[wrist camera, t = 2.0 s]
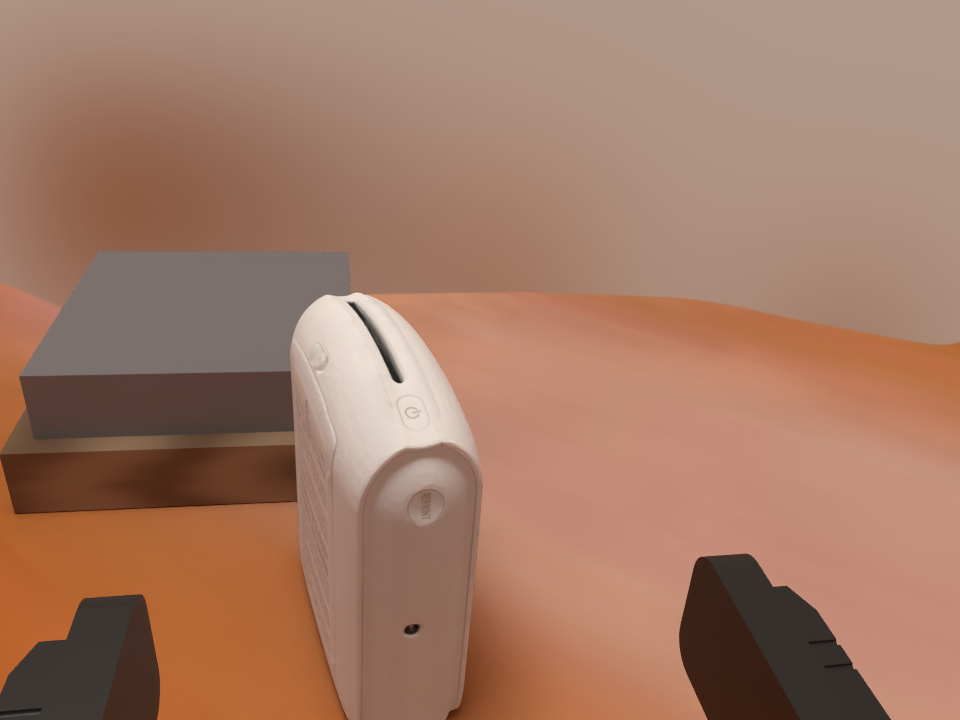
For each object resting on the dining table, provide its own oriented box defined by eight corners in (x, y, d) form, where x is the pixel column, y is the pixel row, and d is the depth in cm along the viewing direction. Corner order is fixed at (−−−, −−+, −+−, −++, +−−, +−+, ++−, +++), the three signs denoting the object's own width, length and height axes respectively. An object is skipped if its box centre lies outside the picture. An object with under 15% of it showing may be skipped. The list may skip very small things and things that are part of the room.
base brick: (14, 513, 35) (-1, 454, 33) (100, 342, 47) (92, 294, 46) (377, 497, 37) (378, 441, 36) (365, 339, 50) (365, 293, 49)
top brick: (34, 439, 34) (19, 376, 33) (107, 302, 45) (98, 250, 44) (354, 429, 36) (353, 370, 35) (348, 301, 47) (348, 252, 46)
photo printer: (479, 727, 27) (511, 409, 21) (350, 766, 26) (345, 435, 20) (391, 527, 36) (397, 257, 29) (289, 547, 34) (273, 267, 28)
